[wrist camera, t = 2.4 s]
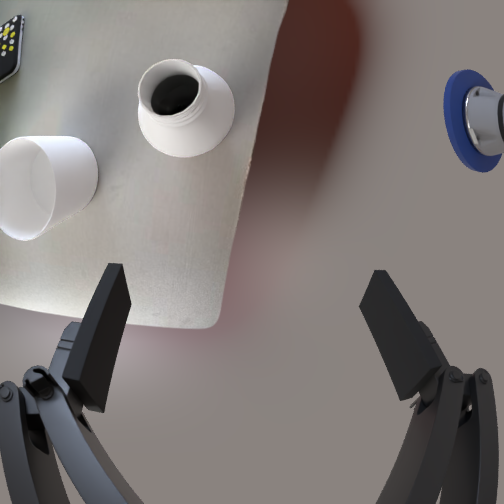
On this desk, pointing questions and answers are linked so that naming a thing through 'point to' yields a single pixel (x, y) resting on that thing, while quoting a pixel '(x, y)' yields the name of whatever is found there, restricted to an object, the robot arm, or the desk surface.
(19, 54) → the remote control
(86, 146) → the cup
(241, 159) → the desk surface
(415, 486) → the robot arm
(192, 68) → the water bottle
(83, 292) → the desk surface
